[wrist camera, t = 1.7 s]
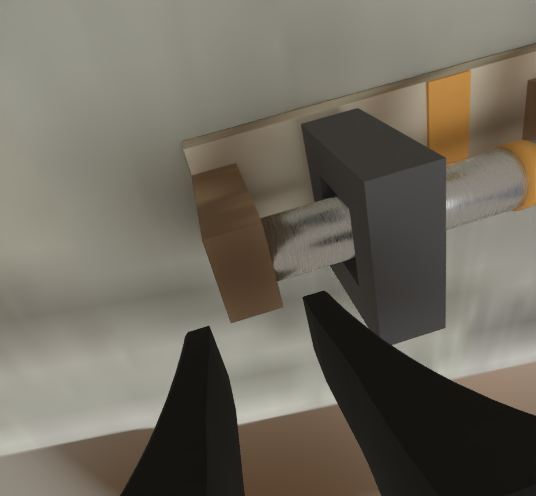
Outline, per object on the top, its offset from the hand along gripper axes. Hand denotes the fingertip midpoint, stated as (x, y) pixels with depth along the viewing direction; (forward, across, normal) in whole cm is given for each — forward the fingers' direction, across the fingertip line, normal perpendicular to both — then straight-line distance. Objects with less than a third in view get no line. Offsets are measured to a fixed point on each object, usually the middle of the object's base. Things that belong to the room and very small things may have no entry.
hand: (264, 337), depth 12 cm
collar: (+8, -5, 0) cm, 9 cm away
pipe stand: (+10, -8, 0) cm, 13 cm away
